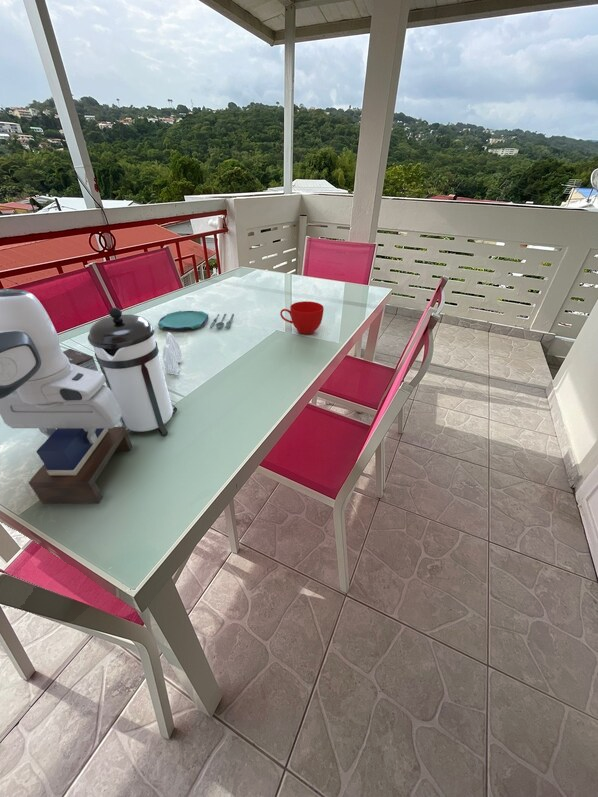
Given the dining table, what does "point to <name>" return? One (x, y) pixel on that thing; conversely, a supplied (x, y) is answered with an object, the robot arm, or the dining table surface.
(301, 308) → the ceramic cup
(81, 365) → the coffee box
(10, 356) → the robot arm
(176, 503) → the dining table surface
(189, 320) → the cutlery set
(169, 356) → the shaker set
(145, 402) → the coffee press
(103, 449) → the shelf
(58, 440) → the navy block white base
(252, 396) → the dining table surface
